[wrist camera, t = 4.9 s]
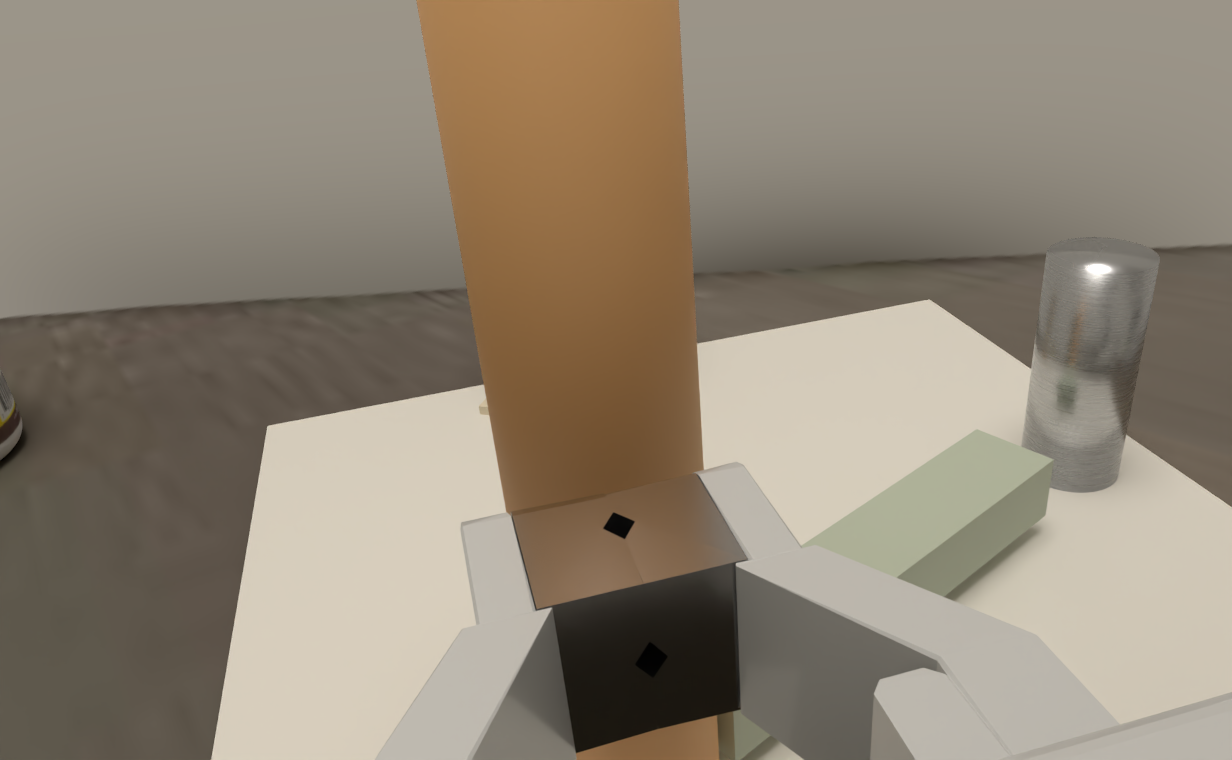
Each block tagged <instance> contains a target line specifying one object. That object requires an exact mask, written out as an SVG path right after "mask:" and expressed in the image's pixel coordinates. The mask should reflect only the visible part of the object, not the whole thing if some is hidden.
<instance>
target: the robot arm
mask: <svg viewBox="0 0 1232 760" xmlns="http://www.w3.org/2000/svg"><path fill="white" fill-rule="evenodd" d="M510 513H511V516H510V515H509V514H508V513H507V512H506V513H501V514H497V515H492V516H487V517H483V518H478V519H474V520H469V521H465V522H461V528H460V531H461V537H462V543H463V549H464V555H465V561H466V567H467V573H468V579H469V585H470V591H471V596H472V602H473V608H474V614H475V620H476V625H475V626H471V627H467V628H463V629H461V631H460V632H459V634H458V635H457V637H456V638H455V640H454V641H453V643H452V644H451V646H450V647H449V649H448V650H447V652H446V653H445V655H444V656H443V658H442V659H441V661H440V662H439V664H438V665H437V667H436V668H435V670H434V671H433V673H432V674H431V676H430V677H429V679H428V680H427V682H426V683H425V685H424V686H423V688H422V689H421V691H420V692H419V694H418V695H417V697H416V698H415V700H414V701H413V703H412V704H411V706H410V707H409V709H408V710H407V712H406V713H405V715H404V716H403V718H402V719H401V721H400V722H399V724H398V725H397V727H396V728H395V730H394V731H393V733H392V734H391V736H390V737H389V739H388V740H387V742H386V743H385V745H384V746H383V748H382V749H381V751H380V752H379V754H378V755H377V757H376V758H375V760H576V759H577V757H576V753H579V752H582V751H585V750H589V749H592V748H596V747H599V746H602V745H606V744H609V743H612V742H616V741H619V740H623V739H626V738H629V737H633V736H636V735H640V734H643V733H646V732H650V731H653V730H657V729H661V728H665V727H669V726H673V725H678V724H682V723H686V722H690V721H695V720H699V719H703V718H707V717H712V716H716V715H720V714H724V713H729V712H733V711H737V710H741V714H742V715H744V716H745V717H746V718H748V719H749V720H751V721H752V722H753V723H755V724H756V725H757V726H759V727H760V728H761V729H763V730H764V731H766V732H767V733H768V734H770V735H771V736H772V737H774V738H775V739H777V740H778V741H779V742H781V743H782V744H783V745H785V746H786V747H787V748H789V749H790V750H792V751H793V752H794V753H796V754H797V755H798V756H800V757H801V758H803V759H804V760H1232V692H1230V693H1226V694H1223V695H1220V696H1216V697H1213V698H1209V699H1206V700H1203V701H1199V702H1196V703H1192V704H1189V705H1185V706H1182V707H1179V708H1175V709H1172V710H1168V711H1165V712H1161V713H1158V714H1154V715H1151V716H1147V717H1144V718H1140V719H1137V720H1133V721H1130V722H1126V723H1123V724H1119V723H1118V722H1117V720H1116V719H1115V718H1114V717H1113V716H1112V715H1111V714H1110V713H1109V712H1108V711H1107V710H1106V709H1105V708H1104V707H1103V705H1102V704H1101V703H1100V702H1099V701H1098V700H1097V699H1096V698H1095V697H1094V696H1093V695H1092V694H1091V693H1090V691H1089V690H1088V689H1087V688H1086V687H1085V686H1084V685H1083V684H1082V683H1081V682H1080V681H1079V680H1078V679H1077V678H1076V676H1075V675H1074V674H1073V673H1072V672H1071V671H1070V670H1069V669H1068V668H1067V667H1066V666H1065V665H1064V664H1063V663H1062V661H1061V660H1060V659H1059V658H1058V657H1057V656H1056V655H1055V654H1054V653H1053V652H1052V651H1051V650H1050V649H1049V648H1048V646H1047V645H1046V644H1045V643H1044V642H1043V641H1042V640H1041V639H1040V638H1039V637H1038V636H1037V635H1036V634H1033V633H1031V632H1028V631H1026V630H1024V629H1021V628H1019V627H1016V626H1014V625H1011V624H1009V623H1006V622H1004V621H1001V620H999V619H997V618H994V617H992V616H989V615H987V614H984V613H982V612H979V611H977V610H974V609H972V608H969V607H967V606H965V605H962V604H960V603H957V602H955V601H952V600H950V599H947V598H945V597H942V596H940V595H938V594H935V593H933V592H930V591H928V590H925V589H923V588H920V587H918V586H915V585H913V584H911V583H908V582H906V581H903V580H901V579H898V578H896V577H893V576H891V575H888V574H886V573H883V572H881V571H879V570H876V569H874V568H871V567H869V566H866V565H864V564H861V563H859V562H856V561H854V560H852V559H849V558H847V557H844V556H842V555H839V554H837V553H834V552H832V551H829V550H827V549H825V548H822V547H820V546H817V545H813V546H808V547H804V548H802V546H801V545H800V544H799V542H798V541H797V539H796V538H795V537H794V535H793V534H792V532H791V531H790V529H789V528H788V527H787V525H786V524H785V522H784V521H783V520H782V518H781V517H780V515H779V514H778V513H777V511H776V510H775V508H774V507H773V506H772V504H771V503H770V501H769V500H768V498H767V497H766V496H765V494H764V493H763V491H762V490H761V489H760V487H759V486H758V484H757V483H756V482H755V480H754V479H753V477H752V476H751V474H750V473H749V472H748V470H747V469H746V467H745V466H744V465H743V464H741V463H738V462H733V463H729V464H725V465H721V466H717V467H713V468H709V469H705V470H701V471H698V472H694V473H693V474H690V475H685V476H681V477H677V478H672V479H668V480H664V481H660V482H655V483H651V484H647V485H642V486H638V487H634V488H630V489H625V490H621V491H617V492H612V493H608V494H604V493H603V494H598V495H593V496H588V497H583V498H577V499H572V500H567V501H562V502H557V503H552V504H547V505H542V506H537V507H532V508H527V509H521V510H516V511H511V512H510Z"/></svg>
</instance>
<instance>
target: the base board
mask: <svg viewBox="0 0 1232 760" xmlns="http://www.w3.org/2000/svg"><path fill="white" fill-rule="evenodd" d="M697 353H698V371H699V390H700V408H701V427H702V445H703V464H704V470H705V469H709V468H713V467H717V466H721V465H725V464H729V463H733V462H738V463H741V464H743V465H744V466H745V467H746V469H747V470H748V472H749V473H750V474H751V476H752V477H753V479H754V480H755V482H756V483H757V484H758V486H759V487H760V489H761V490H762V491H763V493H764V494H765V496H766V497H767V498H768V500H769V501H770V503H771V504H772V506H773V507H774V508H775V510H776V511H777V513H778V514H779V515H780V517H781V518H782V520H783V521H784V522H785V524H786V525H787V527H788V528H789V529H790V531H791V532H792V534H793V535H794V537H795V538H796V539H797V541H798V542H799V544H800V545H801V546H802V545H803V544H805V543H806V542H808V541H809V540H811V539H812V538H814V537H815V536H817V535H818V534H820V533H821V532H823V531H824V530H826V529H827V528H829V527H830V526H832V525H833V524H835V523H836V522H838V521H839V520H841V519H842V518H844V517H845V516H847V515H848V514H850V513H851V512H853V511H854V510H856V509H857V508H859V507H860V506H862V505H863V504H865V503H866V502H868V501H869V500H871V499H872V498H874V497H875V496H877V495H878V494H880V493H881V492H883V491H884V490H886V489H887V488H889V487H890V486H892V485H893V484H895V483H896V482H898V481H899V480H901V479H902V478H904V477H905V476H907V475H908V474H910V473H911V472H913V471H914V470H916V469H917V468H919V467H920V466H922V465H923V464H925V463H926V462H928V461H929V460H931V459H932V458H934V457H935V456H937V455H938V454H940V453H941V452H943V451H944V450H946V449H947V448H949V447H950V446H952V445H954V444H955V443H957V442H958V441H960V440H961V439H963V438H964V437H966V436H967V435H969V434H970V433H972V432H973V431H975V430H976V429H978V430H980V431H983V432H985V433H988V434H990V435H993V436H995V437H998V438H1001V439H1003V440H1006V441H1008V442H1011V443H1013V444H1016V445H1018V446H1021V444H1022V436H1023V429H1024V421H1025V414H1026V406H1027V399H1028V391H1029V383H1030V376H1031V369H1030V368H1028V367H1027V366H1025V365H1024V364H1023V363H1021V362H1020V361H1018V360H1017V359H1015V358H1014V357H1012V356H1011V355H1009V354H1008V353H1007V352H1005V351H1004V350H1002V349H1001V348H999V347H998V346H996V345H995V344H993V343H992V342H991V341H989V340H988V339H986V338H985V337H983V336H982V335H980V334H979V333H977V332H976V331H975V330H973V329H972V328H970V327H969V326H967V325H966V324H964V323H963V322H961V321H960V320H959V319H957V318H956V317H954V316H953V315H951V314H950V313H948V312H947V311H945V310H944V309H943V308H941V307H940V306H938V305H937V304H935V303H934V302H932V301H931V300H924V301H919V302H914V303H909V304H903V305H898V306H893V307H888V308H882V309H877V310H872V311H867V312H862V313H856V314H851V315H846V316H841V317H835V318H830V319H825V320H820V321H814V322H809V323H804V324H799V325H794V326H788V327H783V328H778V329H773V330H767V331H762V332H757V333H752V334H746V335H741V336H736V337H731V338H726V339H720V340H715V341H710V342H705V343H699V344H697ZM485 399H486V394H485V388H484V385H480V386H474V387H469V388H464V389H459V390H453V391H448V392H443V393H438V394H433V395H427V396H422V397H417V398H412V399H406V400H401V401H396V402H391V403H385V404H380V405H375V406H370V407H365V408H359V409H354V410H349V411H344V412H338V413H333V414H328V415H323V416H317V417H312V418H307V419H302V420H297V421H291V422H286V423H281V424H276V425H270V426H267V432H266V438H265V444H264V450H263V456H262V462H261V468H260V474H259V480H258V486H257V492H256V498H255V504H254V510H253V515H252V521H251V527H250V533H249V539H248V545H247V551H246V557H245V563H244V569H243V575H242V581H241V587H240V593H239V599H238V604H237V610H236V616H235V622H234V628H233V634H232V640H231V646H230V652H229V658H228V664H227V670H226V676H225V682H224V688H223V693H222V699H221V705H220V711H219V717H218V723H217V729H216V735H215V741H214V747H213V753H212V759H211V760H375V758H376V757H377V755H378V754H379V752H380V751H381V749H382V748H383V746H384V745H385V743H386V742H387V740H388V739H389V737H390V736H391V734H392V733H393V731H394V730H395V728H396V727H397V725H398V724H399V722H400V721H401V719H402V718H403V716H404V715H405V713H406V712H407V710H408V709H409V707H410V706H411V704H412V703H413V701H414V700H415V698H416V697H417V695H418V694H419V692H420V691H421V689H422V688H423V686H424V685H425V683H426V682H427V680H428V679H429V677H430V676H431V674H432V673H433V671H434V670H435V668H436V667H437V665H438V664H439V662H440V661H441V659H442V658H443V656H444V655H445V653H446V652H447V650H448V649H449V647H450V646H451V644H452V643H453V641H454V640H455V638H456V637H457V635H458V634H459V632H460V631H461V629H463V628H467V627H471V626H475V625H476V620H475V614H474V608H473V602H472V596H471V591H470V585H469V579H468V573H467V567H466V561H465V555H464V549H463V543H462V537H461V531H460V528H461V522H465V521H469V520H474V519H478V518H483V517H487V516H492V515H497V514H501V513H506V508H505V502H504V497H503V491H502V485H501V480H500V474H499V468H498V462H497V457H496V451H495V445H494V440H493V434H492V428H491V423H490V417H489V415H482V414H480V411H479V405H480V404H481V403H482V402H483V401H484V400H485ZM944 597H945V598H947V599H950V600H952V601H955V602H957V603H960V604H962V605H965V606H967V607H969V608H972V609H974V610H977V611H979V612H982V613H984V614H987V615H989V616H992V617H994V618H997V619H999V620H1001V621H1004V622H1006V623H1009V624H1011V625H1014V626H1016V627H1019V628H1021V629H1024V630H1026V631H1028V632H1031V633H1033V634H1036V635H1037V636H1038V637H1039V638H1040V639H1041V640H1042V641H1043V642H1044V643H1045V644H1046V645H1047V646H1048V648H1049V649H1050V650H1051V651H1052V652H1053V653H1054V654H1055V655H1056V656H1057V657H1058V658H1059V659H1060V660H1061V661H1062V663H1063V664H1064V665H1065V666H1066V667H1067V668H1068V669H1069V670H1070V671H1071V672H1072V673H1073V674H1074V675H1075V676H1076V678H1077V679H1078V680H1079V681H1080V682H1081V683H1082V684H1083V685H1084V686H1085V687H1086V688H1087V689H1088V690H1089V691H1090V693H1091V694H1092V695H1093V696H1094V697H1095V698H1096V699H1097V700H1098V701H1099V702H1100V703H1101V704H1102V705H1103V707H1104V708H1105V709H1106V710H1107V711H1108V712H1109V713H1110V714H1111V715H1112V716H1113V717H1114V718H1115V719H1116V720H1117V722H1118V723H1119V724H1123V723H1126V722H1130V721H1133V720H1137V719H1140V718H1144V717H1147V716H1151V715H1154V714H1158V713H1161V712H1165V711H1168V710H1172V709H1175V708H1179V707H1182V706H1185V705H1189V704H1192V703H1196V702H1199V701H1203V700H1206V699H1209V698H1213V697H1216V696H1220V695H1223V694H1226V693H1230V692H1232V507H1230V506H1229V505H1228V504H1226V503H1225V502H1223V501H1222V500H1220V499H1219V498H1217V497H1216V496H1214V495H1213V494H1212V493H1210V492H1209V491H1207V490H1206V489H1204V488H1203V487H1201V486H1200V485H1198V484H1197V483H1196V482H1194V481H1193V480H1191V479H1190V478H1188V477H1187V476H1185V475H1184V474H1182V473H1181V472H1180V471H1178V470H1177V469H1175V468H1174V467H1172V466H1171V465H1169V464H1168V463H1166V462H1165V461H1164V460H1162V459H1161V458H1159V457H1158V456H1156V455H1155V454H1153V453H1152V452H1150V451H1149V450H1148V449H1146V448H1145V447H1143V446H1142V445H1140V444H1139V443H1137V442H1136V441H1134V440H1133V439H1132V438H1130V437H1129V436H1127V435H1126V438H1125V443H1124V449H1123V454H1122V459H1121V464H1120V469H1119V475H1118V478H1117V480H1116V482H1115V483H1114V484H1113V485H1111V486H1110V487H1108V488H1106V489H1103V490H1100V491H1095V492H1087V493H1076V492H1066V491H1061V490H1057V489H1053V488H1050V489H1049V495H1048V502H1047V509H1046V515H1045V516H1044V517H1043V518H1042V519H1040V520H1039V521H1038V522H1037V523H1035V524H1034V525H1033V526H1032V527H1030V528H1029V529H1028V530H1027V531H1025V532H1024V533H1023V534H1022V535H1020V536H1019V537H1018V538H1017V539H1015V540H1014V541H1013V542H1012V543H1010V544H1009V545H1008V546H1007V547H1005V548H1004V549H1003V550H1002V551H1000V552H999V553H998V554H997V555H995V556H994V557H993V558H992V559H990V560H989V561H988V562H987V563H985V564H984V565H983V566H982V567H980V568H979V569H978V570H977V571H975V572H974V573H973V574H972V575H970V576H969V577H968V578H967V579H965V580H964V581H963V582H962V583H960V584H959V585H958V586H957V587H955V588H954V589H953V590H952V591H950V592H949V593H948V594H947V595H945V596H944ZM719 760H731V759H729V758H728V757H727V756H726V755H725V754H724V753H722V752H721V751H720V750H719ZM741 760H804V759H803V758H801V757H800V756H798V755H797V754H796V753H794V752H793V751H792V750H790V749H789V748H787V747H786V746H785V745H783V744H782V743H781V742H779V741H778V740H777V739H775V738H774V737H772V736H769V737H768V738H767V739H766V740H764V741H763V742H762V743H761V744H759V745H758V746H757V747H756V748H754V749H753V750H752V751H751V752H749V753H748V754H747V755H746V756H744V757H743V758H742V759H741Z"/></svg>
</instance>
